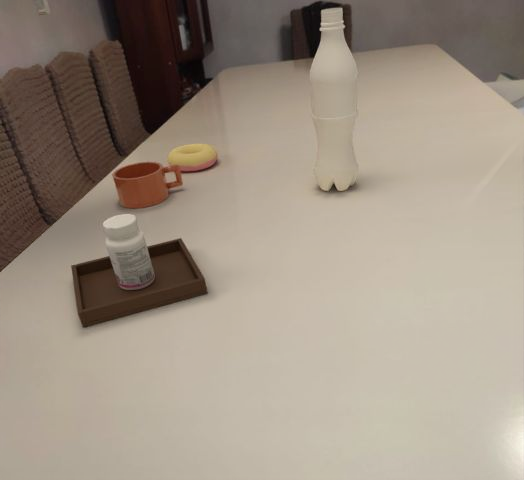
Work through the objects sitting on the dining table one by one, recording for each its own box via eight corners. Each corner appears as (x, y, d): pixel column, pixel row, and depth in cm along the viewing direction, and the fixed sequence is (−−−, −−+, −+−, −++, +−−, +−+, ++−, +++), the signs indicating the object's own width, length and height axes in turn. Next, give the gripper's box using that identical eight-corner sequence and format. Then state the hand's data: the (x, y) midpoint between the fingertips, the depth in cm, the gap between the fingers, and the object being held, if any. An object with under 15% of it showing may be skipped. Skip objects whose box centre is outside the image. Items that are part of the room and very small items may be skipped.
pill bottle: (119, 276, 70) (100, 216, 65) (155, 270, 70) (139, 209, 65) (118, 294, 66) (98, 232, 61) (156, 287, 67) (139, 224, 62)
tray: (83, 327, 62) (77, 313, 61) (75, 278, 72) (71, 265, 71) (207, 293, 65) (204, 279, 64) (183, 250, 75) (181, 237, 74)
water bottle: (310, 194, 87) (300, 15, 72) (319, 178, 92) (312, 8, 77) (354, 194, 85) (353, 10, 70) (361, 178, 90) (361, 3, 75)
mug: (123, 212, 90) (115, 183, 87) (117, 196, 96) (109, 168, 93) (189, 196, 92) (183, 168, 89) (178, 182, 99) (173, 155, 96)
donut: (200, 185, 102) (227, 162, 107) (197, 163, 98) (225, 140, 103) (160, 173, 106) (188, 151, 111) (155, 151, 102) (184, 130, 107)
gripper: (51, -131, 63) (87, 6, 71) (-136, -113, 59) (-75, 31, 67) (53, -140, 58) (91, 8, 67) (-151, -121, 54) (-83, 35, 62)
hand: (6, 20), depth 67 cm, fingers open, 8 cm apart
